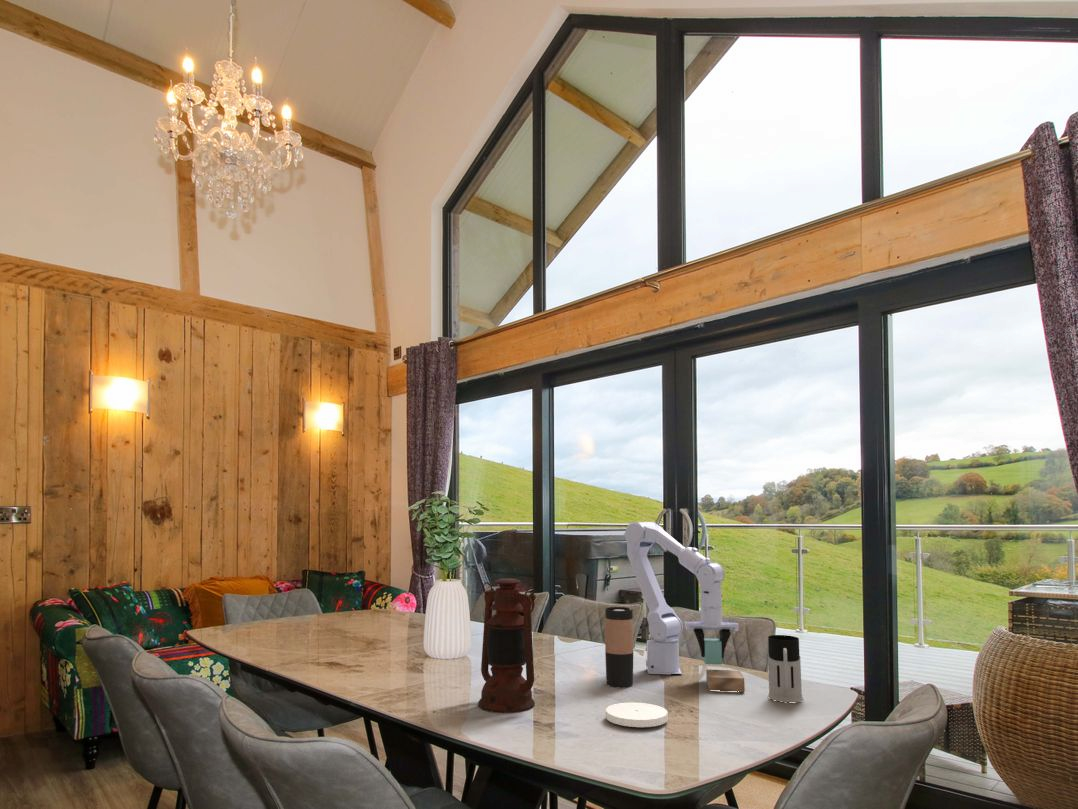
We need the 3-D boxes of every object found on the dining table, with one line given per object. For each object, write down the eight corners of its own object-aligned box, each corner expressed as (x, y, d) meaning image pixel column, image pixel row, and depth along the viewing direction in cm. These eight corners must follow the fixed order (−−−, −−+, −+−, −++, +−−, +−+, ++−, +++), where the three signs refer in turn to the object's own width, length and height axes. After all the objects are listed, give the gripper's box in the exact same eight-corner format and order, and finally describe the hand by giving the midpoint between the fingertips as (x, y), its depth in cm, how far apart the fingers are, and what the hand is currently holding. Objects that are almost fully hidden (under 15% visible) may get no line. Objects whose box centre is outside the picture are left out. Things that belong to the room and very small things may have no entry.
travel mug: (601, 685, 200) (600, 609, 202) (611, 679, 206) (611, 606, 209) (627, 689, 196) (627, 611, 199) (637, 683, 203) (637, 608, 205)
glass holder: (802, 695, 191) (800, 635, 192) (806, 710, 177) (804, 645, 179) (767, 693, 193) (765, 633, 195) (768, 707, 179) (766, 643, 181)
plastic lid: (627, 710, 178) (627, 699, 178) (679, 721, 169) (678, 709, 170) (593, 723, 167) (593, 711, 168) (647, 736, 159) (647, 724, 159)
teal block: (705, 664, 205) (704, 641, 205) (703, 660, 209) (702, 638, 210) (721, 664, 204) (721, 642, 205) (719, 660, 209) (718, 638, 209)
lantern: (461, 704, 181) (463, 579, 185) (500, 693, 192) (501, 574, 195) (514, 718, 170) (515, 584, 174) (552, 705, 180) (552, 579, 184)
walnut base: (709, 693, 194) (709, 677, 195) (706, 684, 203) (706, 669, 203) (744, 694, 193) (744, 678, 193) (740, 685, 202) (739, 670, 202)
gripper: (686, 608, 205) (687, 659, 203) (740, 609, 204) (741, 660, 202) (683, 604, 212) (684, 653, 210) (735, 605, 211) (736, 655, 209)
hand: (712, 656), depth 207 cm, fingers closed on teal block, 4 cm apart
